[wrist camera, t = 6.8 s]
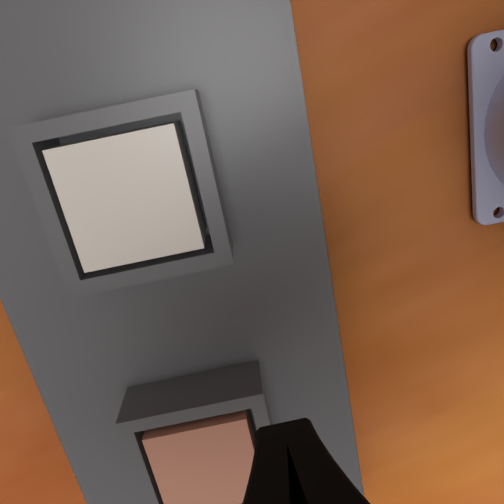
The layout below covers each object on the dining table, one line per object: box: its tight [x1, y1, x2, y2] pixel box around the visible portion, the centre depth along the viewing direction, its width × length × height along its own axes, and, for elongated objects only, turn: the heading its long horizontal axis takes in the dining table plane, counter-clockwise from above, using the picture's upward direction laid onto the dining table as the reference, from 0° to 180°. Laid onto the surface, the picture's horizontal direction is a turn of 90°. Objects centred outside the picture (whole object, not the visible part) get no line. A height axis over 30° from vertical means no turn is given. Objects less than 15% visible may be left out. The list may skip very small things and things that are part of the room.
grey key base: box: [0, 0, 364, 504], centre depth 20 cm, size 14×28×4 cm, turn 11°
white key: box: [42, 120, 206, 273], centre depth 17 cm, size 4×4×2 cm
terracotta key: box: [142, 409, 256, 504], centre depth 20 cm, size 4×4×2 cm
